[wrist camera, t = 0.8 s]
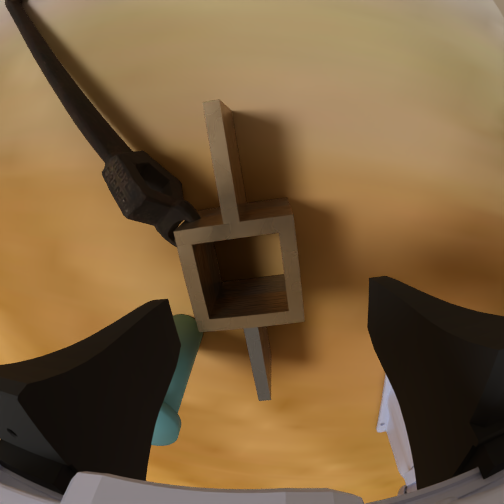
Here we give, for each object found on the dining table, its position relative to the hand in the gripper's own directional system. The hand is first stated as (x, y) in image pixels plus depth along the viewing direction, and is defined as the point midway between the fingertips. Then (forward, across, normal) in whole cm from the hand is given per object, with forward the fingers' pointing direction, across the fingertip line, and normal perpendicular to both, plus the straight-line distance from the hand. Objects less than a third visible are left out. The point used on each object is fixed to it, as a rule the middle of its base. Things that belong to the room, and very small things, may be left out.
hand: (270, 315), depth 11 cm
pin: (+10, +8, +7) cm, 14 cm away
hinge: (+10, +2, +1) cm, 10 cm away
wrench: (+10, +11, -14) cm, 21 cm away
